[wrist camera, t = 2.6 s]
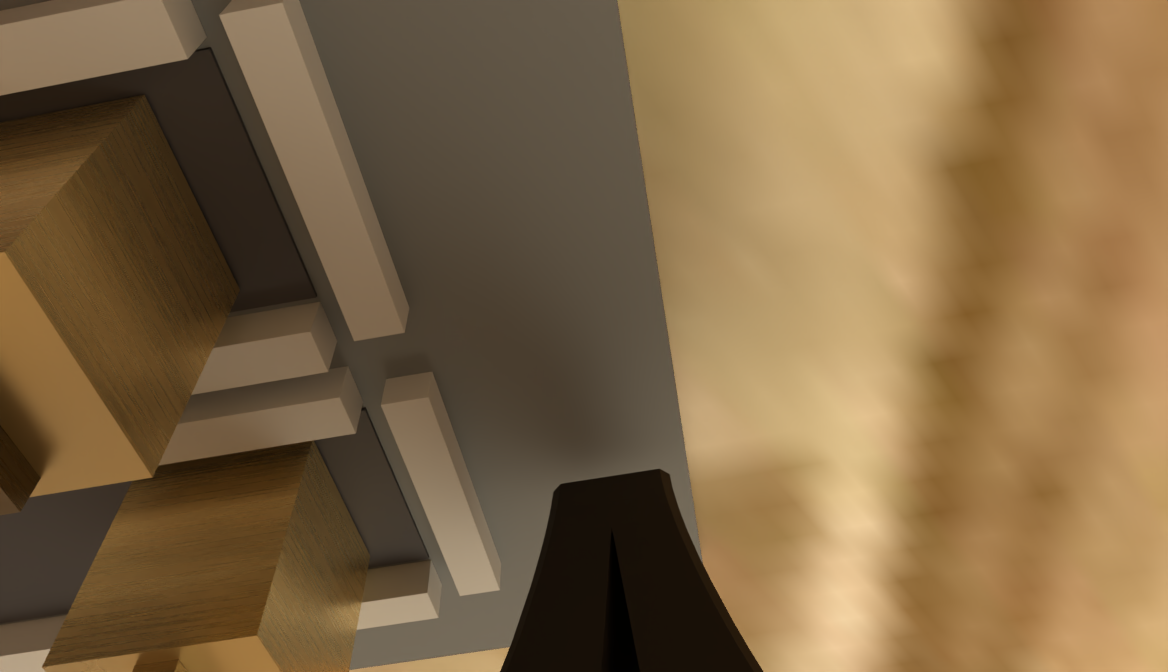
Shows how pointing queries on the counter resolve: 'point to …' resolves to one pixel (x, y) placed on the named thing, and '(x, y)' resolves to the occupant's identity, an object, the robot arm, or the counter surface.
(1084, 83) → the counter surface
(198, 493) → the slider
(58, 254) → the slider middle
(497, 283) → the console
